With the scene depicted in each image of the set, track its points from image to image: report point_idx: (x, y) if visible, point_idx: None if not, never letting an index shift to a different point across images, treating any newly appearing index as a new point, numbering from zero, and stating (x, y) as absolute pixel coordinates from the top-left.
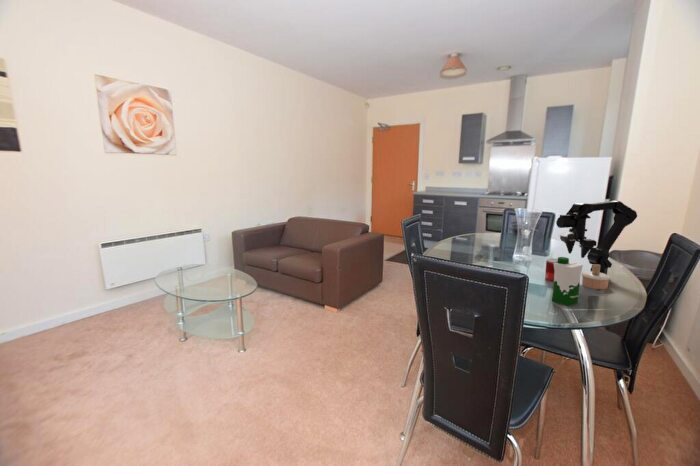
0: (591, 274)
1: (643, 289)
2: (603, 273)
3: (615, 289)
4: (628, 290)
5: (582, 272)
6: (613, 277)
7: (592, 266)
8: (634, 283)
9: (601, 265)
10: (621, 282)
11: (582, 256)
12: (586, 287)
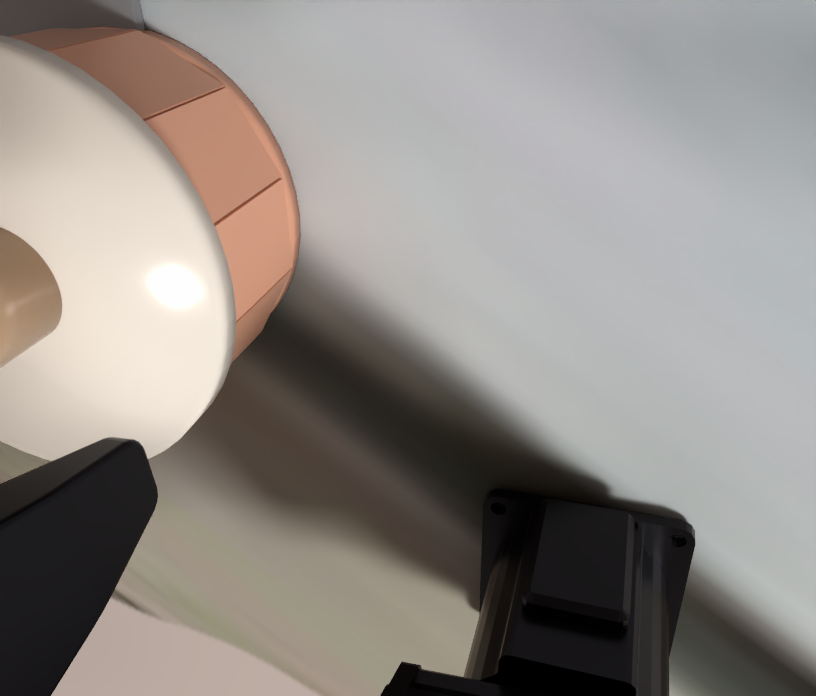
0: (4, 221)
1: (127, 591)
2: None
3: None
4: None
5: (108, 135)
6: None
7: (607, 654)
8: (298, 670)
9: (384, 693)
10: (327, 602)
11: (55, 477)
12: (17, 2)
